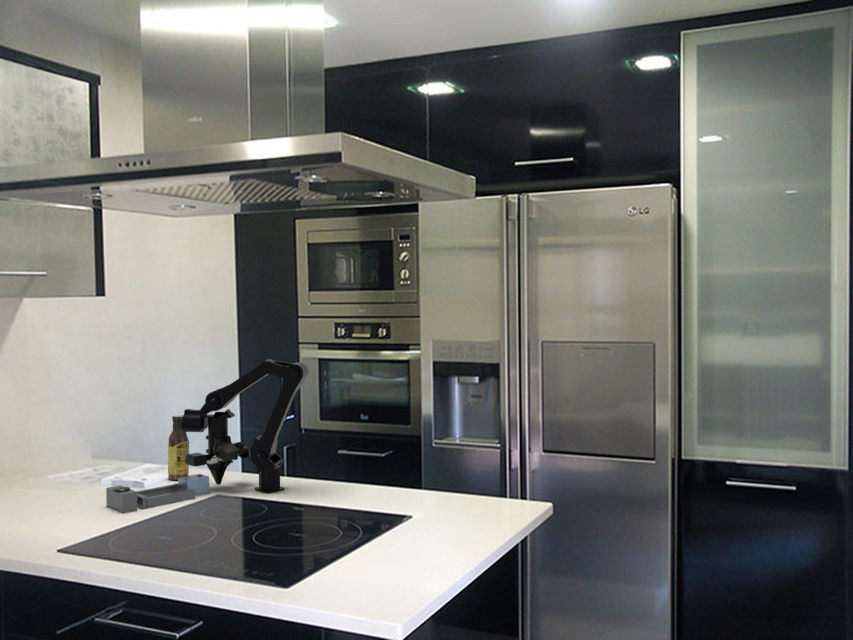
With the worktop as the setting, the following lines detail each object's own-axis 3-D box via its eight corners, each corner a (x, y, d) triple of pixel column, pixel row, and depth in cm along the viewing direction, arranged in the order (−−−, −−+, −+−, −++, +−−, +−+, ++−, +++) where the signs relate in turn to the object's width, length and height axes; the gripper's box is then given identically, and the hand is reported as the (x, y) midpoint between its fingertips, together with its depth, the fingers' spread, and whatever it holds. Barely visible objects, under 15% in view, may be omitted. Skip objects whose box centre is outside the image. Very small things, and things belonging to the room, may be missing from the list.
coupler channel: (196, 498, 224) (196, 480, 224) (122, 513, 209) (122, 493, 209) (177, 491, 232) (177, 473, 232) (105, 505, 216) (104, 486, 216)
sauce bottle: (178, 482, 244) (178, 417, 243) (163, 479, 246) (162, 416, 246) (193, 477, 249) (193, 414, 249) (178, 475, 252) (177, 413, 251)
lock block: (209, 493, 230) (208, 475, 230) (187, 498, 225) (187, 479, 225) (200, 490, 234) (199, 473, 234) (178, 494, 229) (178, 477, 229)
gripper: (203, 440, 222) (204, 495, 223) (260, 431, 236) (260, 483, 236) (183, 435, 230) (184, 488, 231) (239, 427, 244) (240, 477, 244)
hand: (218, 484), depth 235 cm, fingers closed
